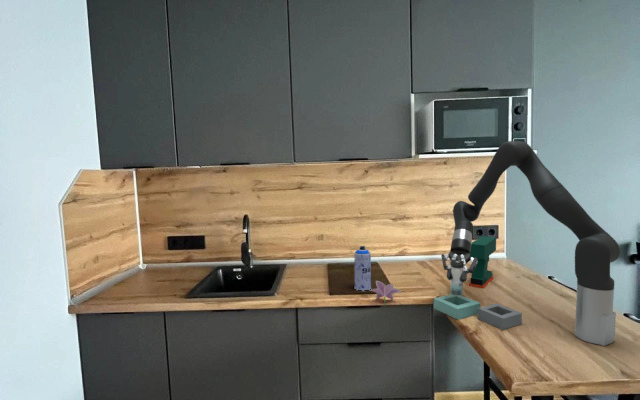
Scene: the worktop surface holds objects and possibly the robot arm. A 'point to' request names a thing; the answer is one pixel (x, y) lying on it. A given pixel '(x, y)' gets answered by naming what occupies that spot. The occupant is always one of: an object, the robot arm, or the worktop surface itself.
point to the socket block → (500, 316)
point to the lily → (385, 290)
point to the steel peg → (456, 276)
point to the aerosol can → (362, 269)
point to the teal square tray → (456, 306)
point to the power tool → (482, 261)
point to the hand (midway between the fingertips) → (456, 280)
